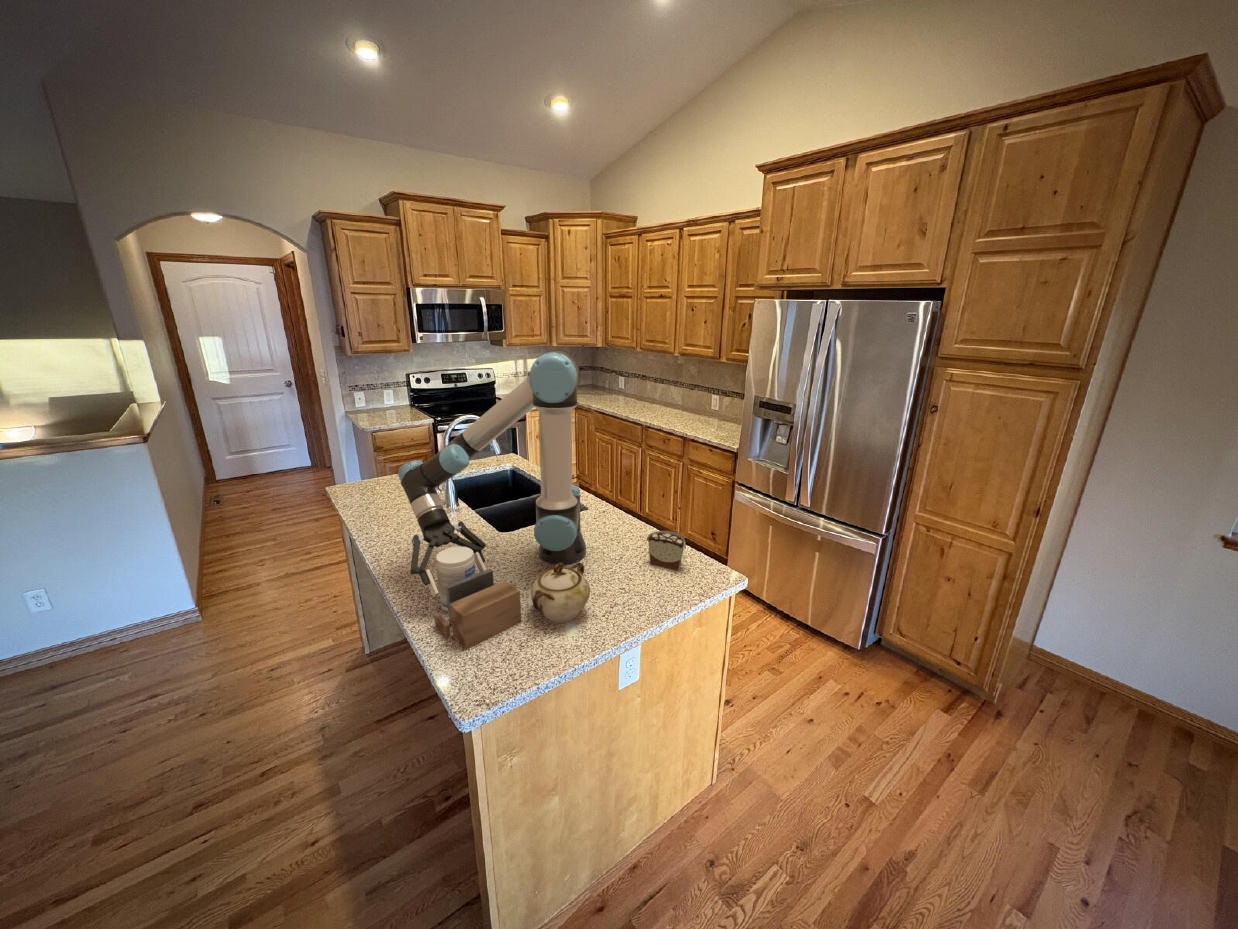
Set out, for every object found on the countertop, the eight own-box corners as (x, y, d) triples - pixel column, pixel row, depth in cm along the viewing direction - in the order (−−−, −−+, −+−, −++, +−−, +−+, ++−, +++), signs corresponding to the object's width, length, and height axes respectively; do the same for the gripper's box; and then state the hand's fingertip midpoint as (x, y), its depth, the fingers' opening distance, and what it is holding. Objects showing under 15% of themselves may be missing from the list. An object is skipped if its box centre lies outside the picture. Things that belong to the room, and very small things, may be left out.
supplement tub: (477, 612, 125) (473, 561, 121) (438, 616, 123) (432, 565, 119) (479, 591, 134) (475, 544, 130) (443, 595, 132) (437, 547, 128)
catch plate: (448, 619, 120) (444, 584, 117) (491, 600, 128) (488, 567, 125) (452, 623, 119) (448, 588, 116) (495, 604, 127) (492, 570, 124)
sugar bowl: (559, 645, 114) (557, 589, 109) (512, 623, 121) (509, 570, 117) (605, 604, 130) (606, 554, 125) (562, 587, 137) (561, 539, 132)
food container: (689, 564, 151) (691, 535, 147) (683, 573, 145) (685, 543, 142) (652, 555, 155) (653, 527, 152) (645, 564, 150) (646, 534, 147)
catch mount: (435, 626, 119) (431, 595, 117) (499, 598, 131) (497, 569, 129) (460, 652, 111) (456, 619, 108) (526, 619, 123) (524, 589, 120)
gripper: (469, 508, 142) (499, 572, 136) (380, 533, 125) (410, 608, 120) (476, 496, 136) (508, 563, 131) (385, 521, 120) (416, 599, 114)
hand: (461, 584), depth 125 cm, fingers open, 13 cm apart
